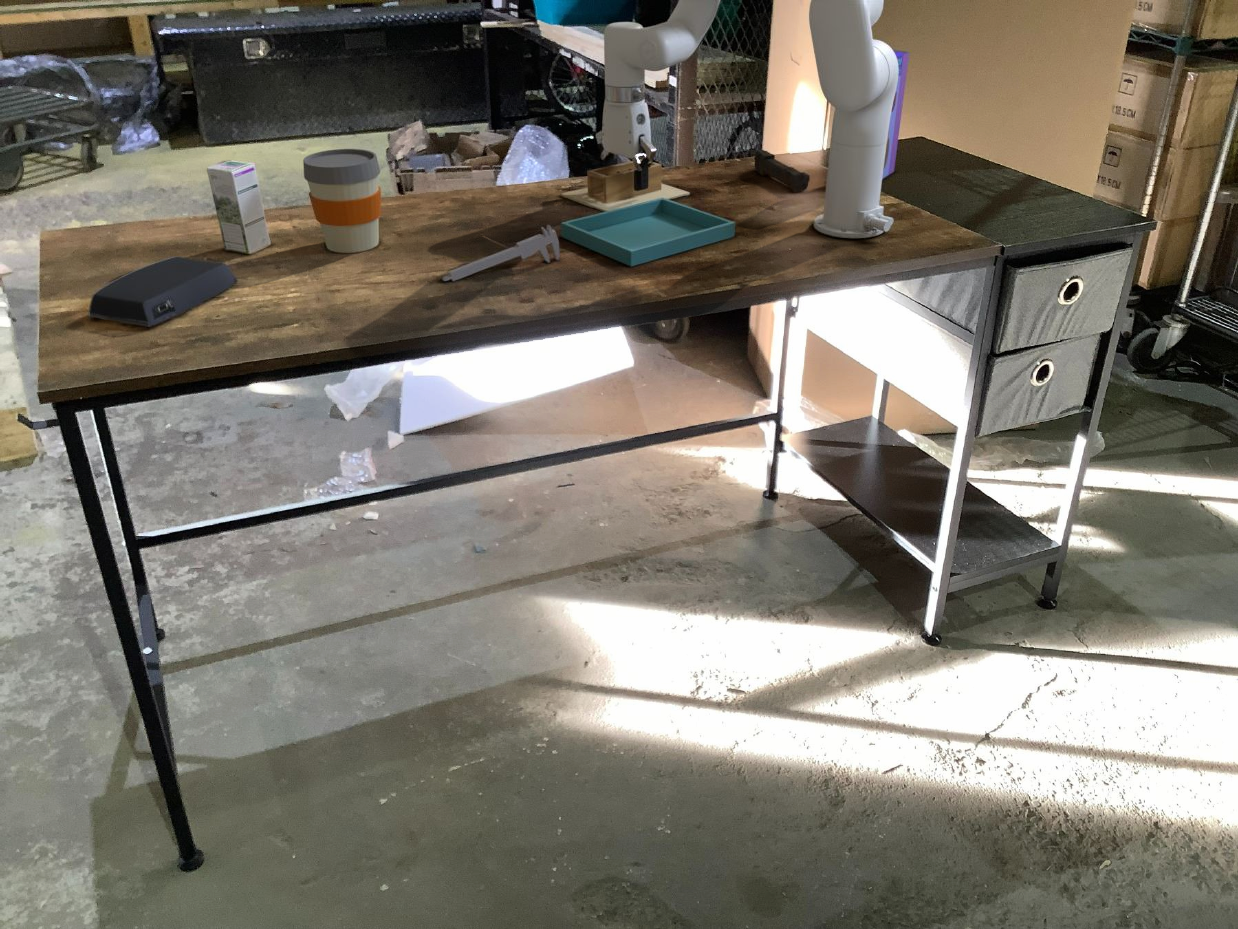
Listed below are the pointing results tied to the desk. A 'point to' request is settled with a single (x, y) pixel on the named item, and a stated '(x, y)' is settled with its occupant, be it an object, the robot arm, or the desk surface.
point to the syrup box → (239, 206)
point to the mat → (583, 198)
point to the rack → (620, 181)
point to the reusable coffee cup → (345, 197)
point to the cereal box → (895, 114)
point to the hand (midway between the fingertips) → (625, 184)
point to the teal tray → (647, 231)
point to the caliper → (512, 254)
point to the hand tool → (780, 171)
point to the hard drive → (160, 291)
